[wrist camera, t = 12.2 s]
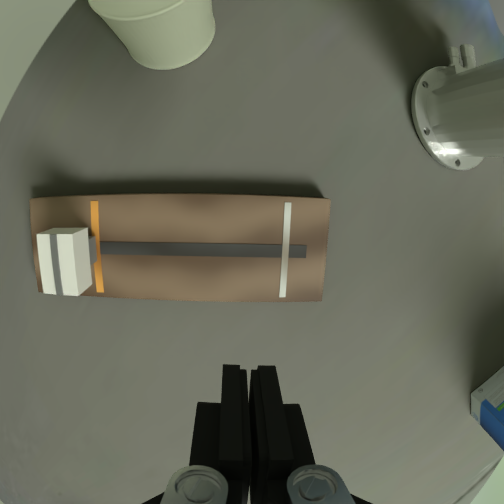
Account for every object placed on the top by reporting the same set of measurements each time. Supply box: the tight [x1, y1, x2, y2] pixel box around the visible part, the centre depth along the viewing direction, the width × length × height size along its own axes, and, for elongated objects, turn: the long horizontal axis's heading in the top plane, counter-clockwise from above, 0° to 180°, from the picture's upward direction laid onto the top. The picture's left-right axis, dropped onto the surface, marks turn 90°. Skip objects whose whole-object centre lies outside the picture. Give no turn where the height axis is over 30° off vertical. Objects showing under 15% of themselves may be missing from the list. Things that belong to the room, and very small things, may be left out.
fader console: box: [30, 193, 331, 302], centre depth 30 cm, size 10×30×2 cm, turn 88°
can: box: [88, 0, 215, 70], centre depth 20 cm, size 9×9×12 cm
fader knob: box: [36, 228, 97, 296], centre depth 25 cm, size 5×4×6 cm
